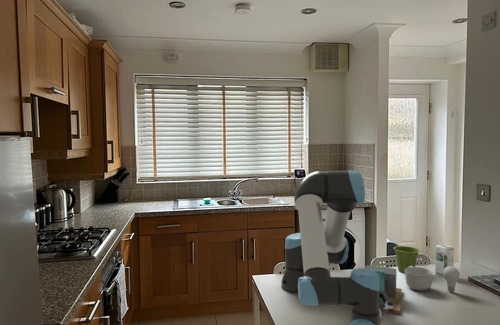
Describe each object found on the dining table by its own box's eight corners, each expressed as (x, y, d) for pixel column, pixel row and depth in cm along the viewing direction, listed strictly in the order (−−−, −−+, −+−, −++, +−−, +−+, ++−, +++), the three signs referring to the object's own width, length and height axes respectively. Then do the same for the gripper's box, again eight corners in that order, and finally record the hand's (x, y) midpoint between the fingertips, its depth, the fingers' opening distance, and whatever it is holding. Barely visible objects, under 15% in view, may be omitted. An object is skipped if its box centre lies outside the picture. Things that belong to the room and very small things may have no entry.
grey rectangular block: (363, 293, 146) (363, 270, 146) (366, 287, 153) (366, 265, 153) (395, 298, 141) (395, 274, 141) (396, 291, 148) (396, 268, 148)
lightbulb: (458, 290, 152) (458, 265, 152) (460, 296, 147) (460, 269, 146) (442, 288, 155) (442, 263, 154) (443, 293, 149) (443, 267, 149)
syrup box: (434, 275, 172) (434, 245, 171) (443, 273, 174) (443, 243, 174) (445, 278, 166) (445, 248, 166) (454, 277, 169) (454, 246, 168)
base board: (354, 307, 137) (354, 303, 137) (362, 286, 158) (362, 283, 158) (400, 314, 130) (400, 310, 130) (401, 292, 151) (401, 288, 151)
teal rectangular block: (369, 302, 135) (369, 270, 134) (373, 289, 147) (373, 260, 147) (384, 304, 133) (384, 272, 132) (386, 290, 145) (386, 261, 145)
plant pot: (417, 277, 169) (417, 253, 169) (391, 272, 176) (391, 250, 175) (421, 270, 179) (421, 247, 179) (396, 266, 185) (396, 244, 185)
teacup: (435, 294, 149) (435, 275, 149) (407, 292, 151) (407, 273, 151) (425, 282, 163) (426, 264, 162) (400, 280, 165) (400, 263, 165)
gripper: (347, 321, 111) (357, 294, 132) (392, 329, 105) (395, 300, 127) (347, 297, 111) (357, 274, 132) (392, 304, 105) (395, 279, 127)
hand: (376, 286), depth 129 cm, fingers closed
